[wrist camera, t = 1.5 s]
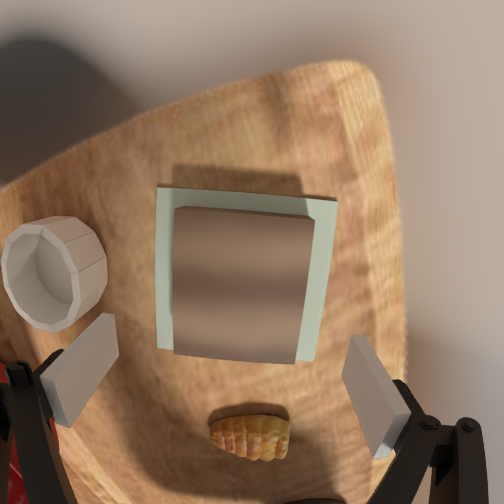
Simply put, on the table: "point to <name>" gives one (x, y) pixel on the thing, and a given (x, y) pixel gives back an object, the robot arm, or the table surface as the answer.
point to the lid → (239, 283)
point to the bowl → (54, 271)
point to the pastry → (252, 436)
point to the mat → (314, 208)
